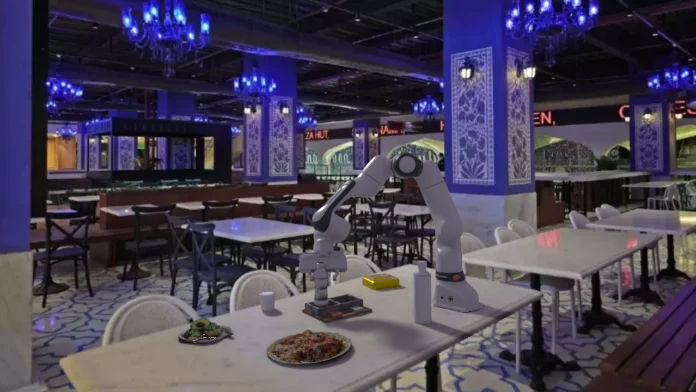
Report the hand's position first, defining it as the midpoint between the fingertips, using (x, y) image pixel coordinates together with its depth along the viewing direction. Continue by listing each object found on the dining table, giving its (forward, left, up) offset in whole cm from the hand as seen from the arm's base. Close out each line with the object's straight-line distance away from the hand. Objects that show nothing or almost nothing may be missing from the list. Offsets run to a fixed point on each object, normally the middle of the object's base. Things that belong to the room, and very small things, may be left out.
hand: (323, 280), depth 195 cm
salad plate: (+7, +47, -14) cm, 50 cm away
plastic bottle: (+1, 0, -13) cm, 13 cm away
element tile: (+21, -47, -15) cm, 53 cm away
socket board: (-1, -6, -14) cm, 15 cm away
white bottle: (-32, -25, -14) cm, 43 cm away
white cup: (+21, +15, -14) cm, 29 cm away
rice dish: (-29, +25, -14) cm, 41 cm away
